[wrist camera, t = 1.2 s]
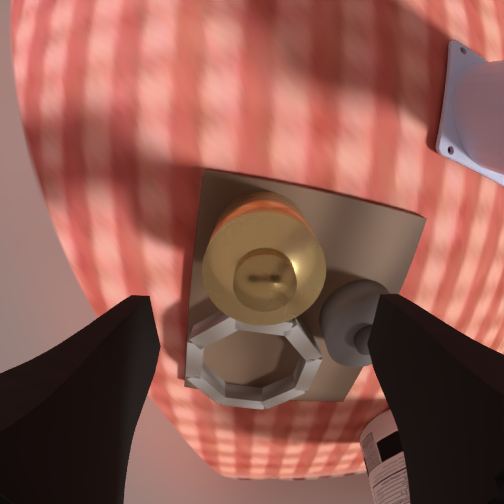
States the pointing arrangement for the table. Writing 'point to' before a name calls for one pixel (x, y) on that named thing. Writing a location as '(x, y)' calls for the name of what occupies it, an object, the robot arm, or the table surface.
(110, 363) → the robot arm
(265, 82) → the table surface
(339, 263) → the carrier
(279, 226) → the brass knob
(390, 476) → the supplement can
